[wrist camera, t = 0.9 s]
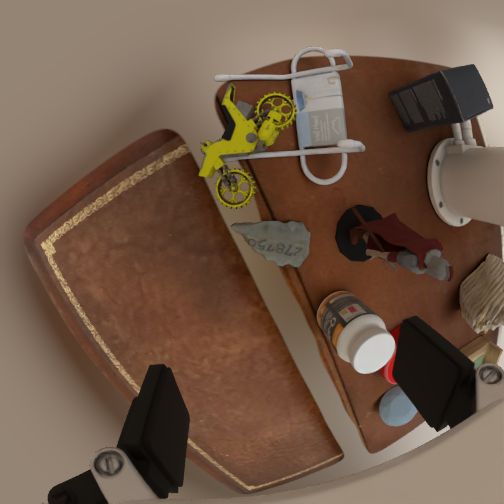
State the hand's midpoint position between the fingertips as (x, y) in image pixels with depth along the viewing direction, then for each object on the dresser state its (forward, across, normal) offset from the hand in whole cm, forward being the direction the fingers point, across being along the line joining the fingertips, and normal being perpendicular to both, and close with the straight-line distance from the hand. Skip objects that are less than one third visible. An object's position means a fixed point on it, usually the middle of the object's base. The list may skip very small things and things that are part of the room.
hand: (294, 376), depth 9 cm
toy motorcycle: (+16, -3, -9) cm, 19 cm away
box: (+20, -24, -16) cm, 35 cm away
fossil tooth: (+21, -36, +12) cm, 44 cm away
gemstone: (+20, -21, +30) cm, 42 cm away
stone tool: (+19, -3, -4) cm, 20 cm away
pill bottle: (+20, -9, +9) cm, 24 cm away
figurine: (+20, -13, 0) cm, 24 cm away
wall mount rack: (+20, -7, -14) cm, 25 cm away
